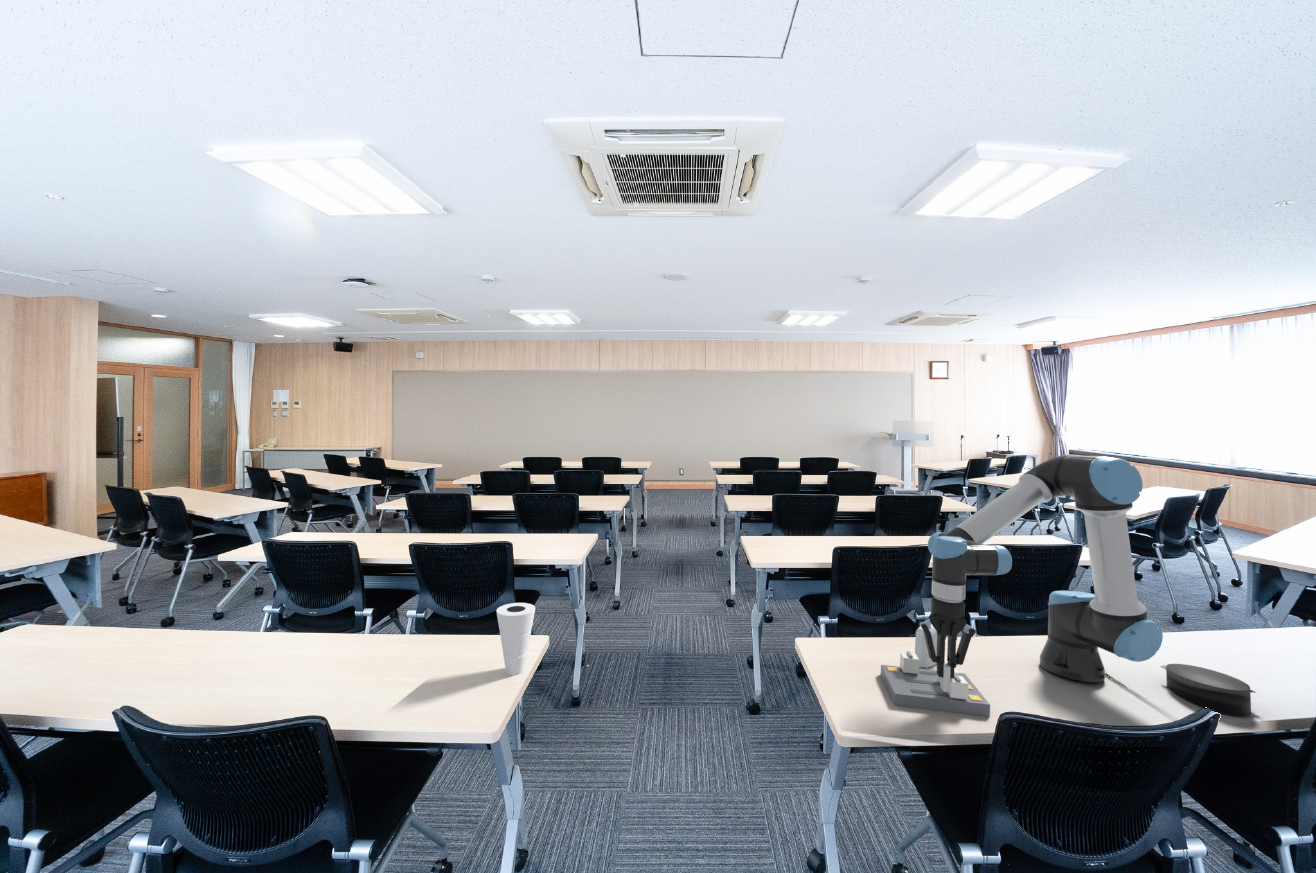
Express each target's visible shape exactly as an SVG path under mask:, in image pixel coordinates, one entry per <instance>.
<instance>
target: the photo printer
mask: <svg viewBox="0 0 1316 873" xmlns="http://www.w3.org/2000/svg"><path fill="white" fill-rule="evenodd" d="M929 631H930V633H931V636H932V640H933V645H934V649H935V654H936V656H937V631H936V630H935V628H934V627H933V625H932V624H931V629H930V630H929ZM914 640H915V643H914V644H915V645H914V653H915V654H916V655H917V657H918V658H919V666H921V667H920V668H922V667H925V668H924V669H929V668H928V667H930V668H932V667H934V666H937V665H936V664H937V663H936V662H933V661H932V660H931V659H930V657H929V654H928V649H927V645H926V641H925V636H924V632H923V629H922V628H921V626H920V625H919V627H918V628H917V629H916V630H915V639H914ZM931 666H932V667H931Z"/></svg>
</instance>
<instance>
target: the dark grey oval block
mask: <svg viewBox="0 0 1316 873" xmlns="http://www.w3.org/2000/svg"><path fill="white" fill-rule="evenodd" d="M1159 667H1160V668H1162V669H1163V670H1165V674H1166V686H1167V688H1168V689H1169V691H1171V692H1172V693H1173V694H1175V695H1176V696H1178V697H1179V698H1181V699H1182V700H1185V701H1187V702H1188V703H1191V704H1193V705H1195V706H1197V707H1199V708H1202V709H1205V707H1207V708H1209V709H1212V710H1214V711H1213V712H1217V713H1220V712H1221V714H1225V715H1232V716H1238V717H1239V716H1241V717H1242V716H1244V717H1245V716H1250V715H1251V714H1252V699H1251V698H1252V696H1251V693H1257V692H1256V691H1254V690H1252V689H1251V686H1250V685H1249V684H1248V683H1246V682H1245V681H1243V680H1241V679H1238V678H1237V677H1234V676H1232V675H1229V674H1226V673H1224V672H1223V673H1222V672H1219V671H1216V670H1213V669H1209V668H1205V667H1201V666H1196V665H1192V664H1191V665H1190V664H1184V663H1168V664H1166V665H1160V666H1159ZM1209 709H1208V710H1209ZM1212 710H1211V711H1212Z"/></svg>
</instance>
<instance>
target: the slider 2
mask: <svg viewBox="0 0 1316 873" xmlns="http://www.w3.org/2000/svg"><path fill="white" fill-rule="evenodd" d="M947 693H948V695H949V696H950V698H958V699H967V700H968V683H967V682H966V680H965V679H964V678H963V676H957V674H954V678H950V692H947Z"/></svg>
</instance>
